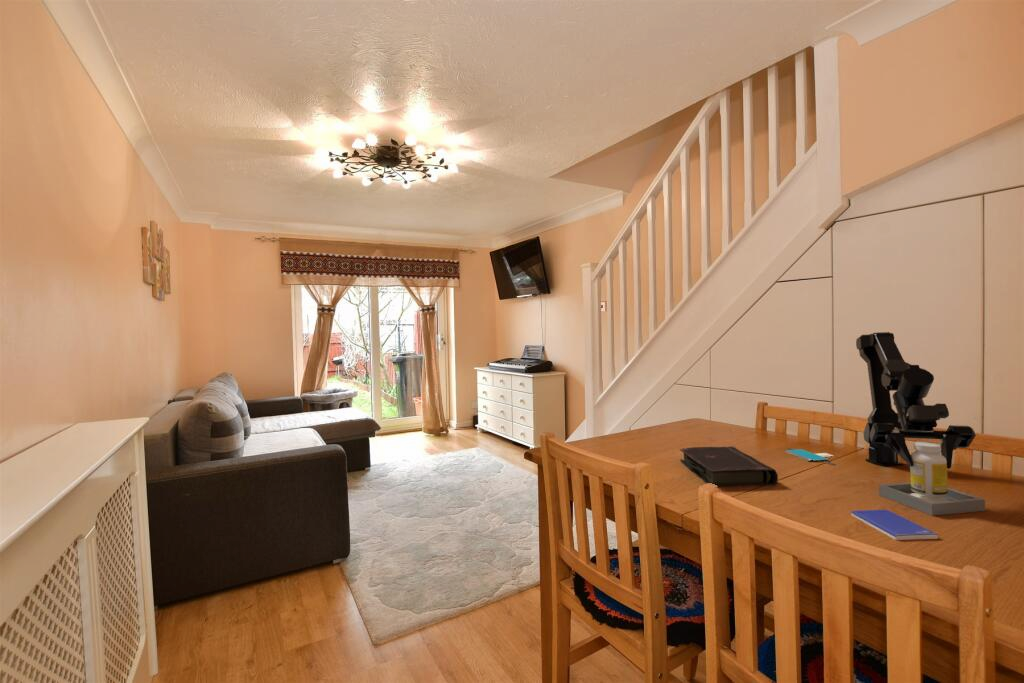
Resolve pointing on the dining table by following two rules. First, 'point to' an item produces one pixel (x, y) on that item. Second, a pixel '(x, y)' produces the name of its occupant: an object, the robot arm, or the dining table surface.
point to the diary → (727, 467)
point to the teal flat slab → (809, 455)
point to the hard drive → (893, 525)
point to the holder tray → (932, 500)
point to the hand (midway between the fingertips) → (930, 466)
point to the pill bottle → (928, 470)
